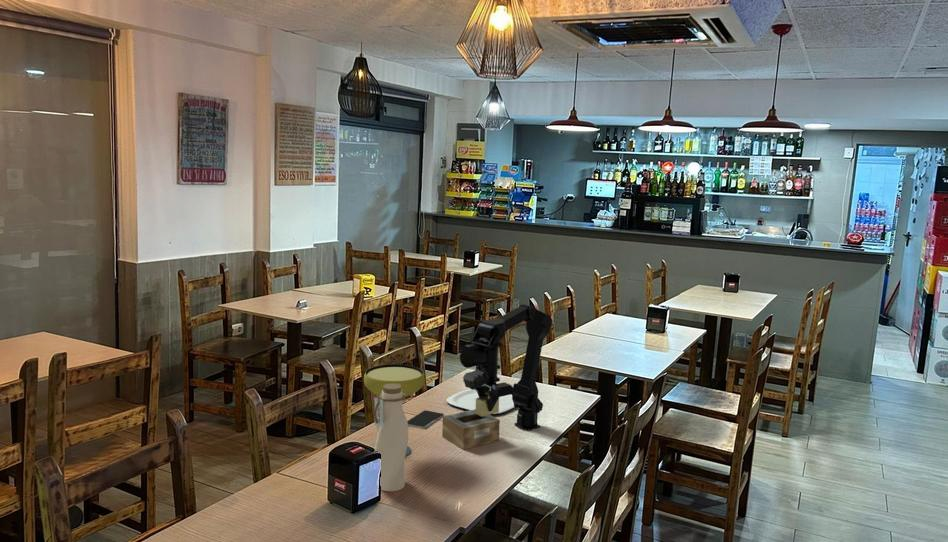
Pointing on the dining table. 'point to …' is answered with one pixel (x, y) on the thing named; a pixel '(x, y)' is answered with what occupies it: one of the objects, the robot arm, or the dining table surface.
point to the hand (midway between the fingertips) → (486, 409)
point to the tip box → (470, 429)
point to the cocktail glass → (394, 380)
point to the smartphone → (424, 419)
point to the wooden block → (485, 406)
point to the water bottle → (391, 436)
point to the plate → (468, 401)
